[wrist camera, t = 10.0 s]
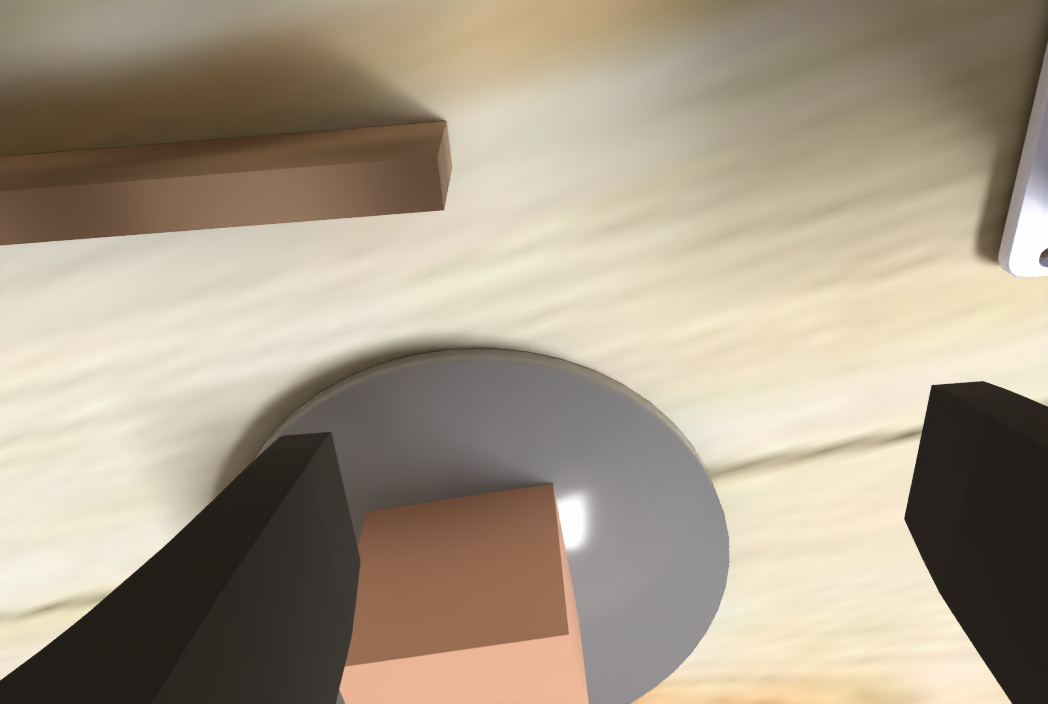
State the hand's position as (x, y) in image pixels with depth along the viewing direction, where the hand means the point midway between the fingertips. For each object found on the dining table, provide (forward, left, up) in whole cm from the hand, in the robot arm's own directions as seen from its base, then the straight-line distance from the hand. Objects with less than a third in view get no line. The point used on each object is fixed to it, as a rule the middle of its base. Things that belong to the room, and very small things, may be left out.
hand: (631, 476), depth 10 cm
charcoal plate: (+3, +10, -9) cm, 14 cm away
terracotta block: (+3, +10, -9) cm, 13 cm away
